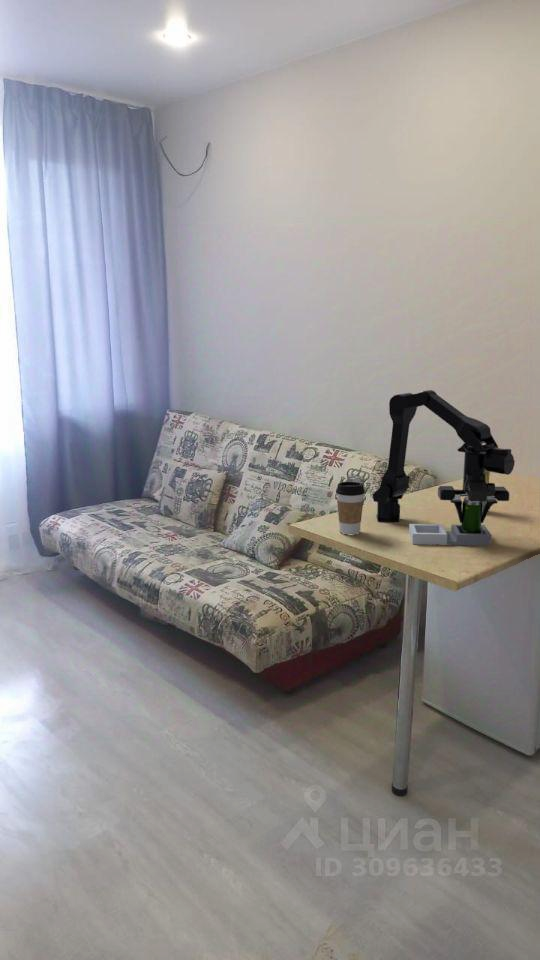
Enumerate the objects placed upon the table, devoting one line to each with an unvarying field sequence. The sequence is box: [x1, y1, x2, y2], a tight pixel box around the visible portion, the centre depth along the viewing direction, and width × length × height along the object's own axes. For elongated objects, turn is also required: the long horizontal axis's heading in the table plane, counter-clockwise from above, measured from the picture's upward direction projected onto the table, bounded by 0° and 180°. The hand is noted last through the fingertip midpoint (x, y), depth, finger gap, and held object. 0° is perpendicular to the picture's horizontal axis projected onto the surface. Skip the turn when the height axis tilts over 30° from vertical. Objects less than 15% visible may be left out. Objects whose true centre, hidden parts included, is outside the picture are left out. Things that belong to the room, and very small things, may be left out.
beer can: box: [460, 496, 482, 534], centre depth 197 cm, size 5×5×12 cm
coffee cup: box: [335, 481, 366, 535], centre depth 205 cm, size 8×8×15 cm
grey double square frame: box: [408, 523, 492, 546], centre depth 199 cm, size 21×9×3 cm, turn 85°
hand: (471, 522), depth 198 cm, fingers closed on beer can, 5 cm apart
